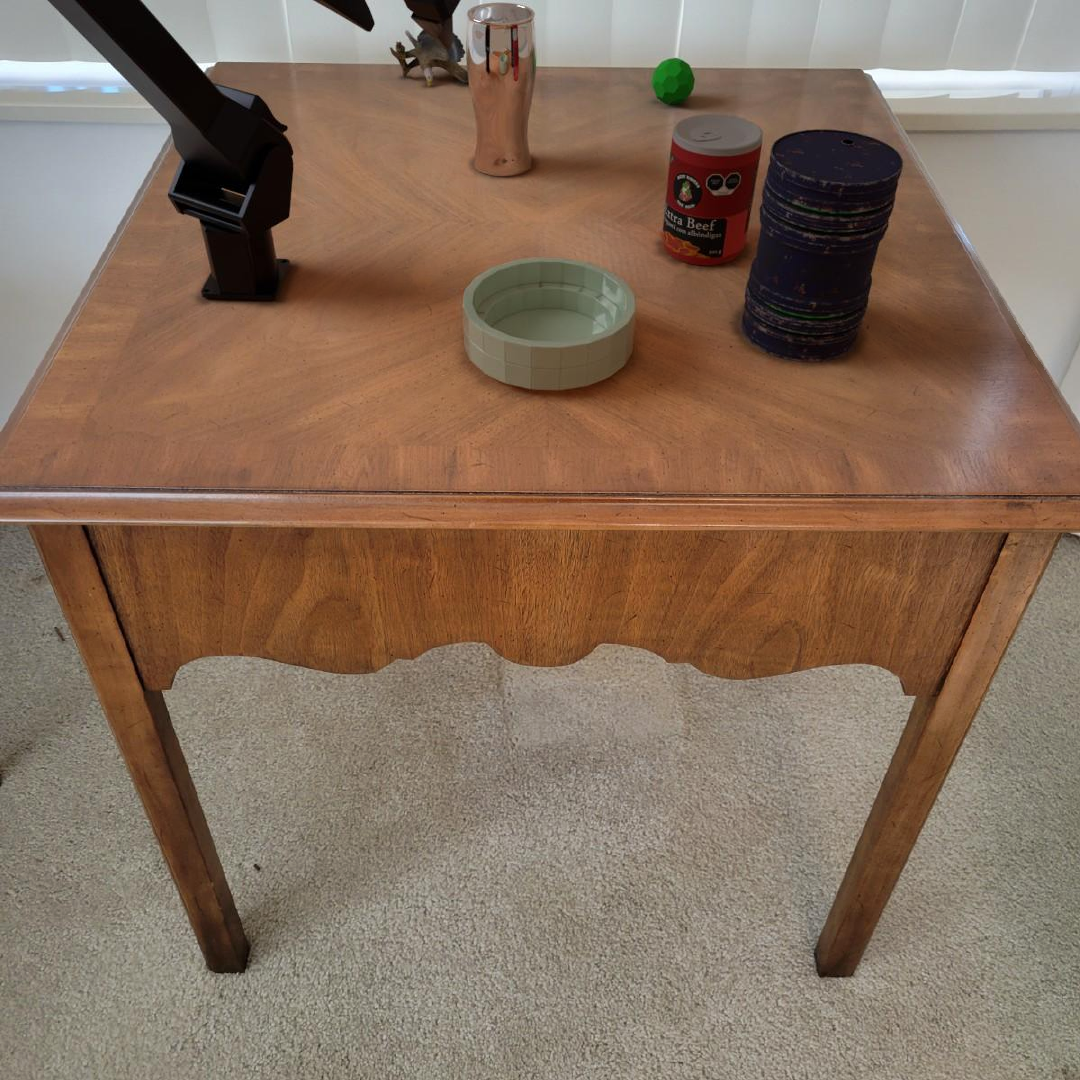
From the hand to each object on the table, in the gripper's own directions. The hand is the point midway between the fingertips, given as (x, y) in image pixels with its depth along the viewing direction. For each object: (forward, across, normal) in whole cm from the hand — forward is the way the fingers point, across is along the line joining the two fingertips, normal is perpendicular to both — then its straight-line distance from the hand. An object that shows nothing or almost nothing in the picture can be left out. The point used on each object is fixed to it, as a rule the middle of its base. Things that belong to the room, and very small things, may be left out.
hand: (409, 36), depth 97 cm
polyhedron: (+30, -13, -20) cm, 38 cm away
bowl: (0, -28, +25) cm, 37 cm away
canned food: (+13, -31, +6) cm, 34 cm away
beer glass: (+16, -6, +2) cm, 17 cm away
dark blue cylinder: (+8, -44, +13) cm, 47 cm away
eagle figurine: (+24, +15, -12) cm, 31 cm away
